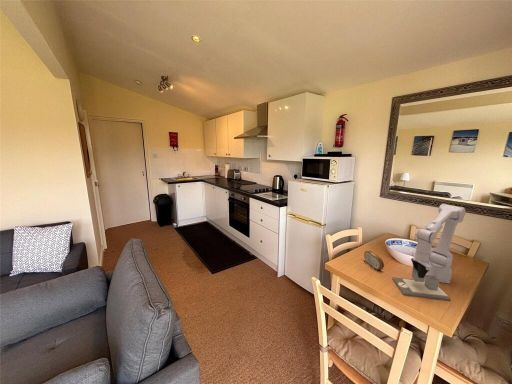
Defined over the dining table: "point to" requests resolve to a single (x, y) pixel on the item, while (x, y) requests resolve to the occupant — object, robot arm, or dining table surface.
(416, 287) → the scale
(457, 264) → the dining table surface
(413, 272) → the block
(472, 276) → the dining table surface
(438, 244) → the robot arm
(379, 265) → the tin
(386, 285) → the dining table surface
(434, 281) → the block
